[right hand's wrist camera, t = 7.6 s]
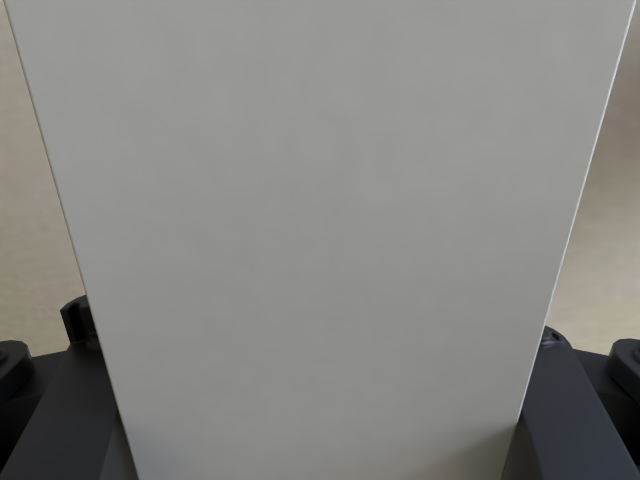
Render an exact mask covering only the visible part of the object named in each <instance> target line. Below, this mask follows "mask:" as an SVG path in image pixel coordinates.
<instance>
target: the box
mask: <svg viewBox="0 0 640 480" xmlns="http://www.w3.org/2000/svg"><path fill="white" fill-rule="evenodd" d="M3 1H4V4H5V8H6V11H7V15H8V19H9V22H10V26H11V29H12V33H13V36H14V40H15V44H16V47H17V51H18V54H19V58H20V61H21V65H22V68H23V72H24V76H25V79H26V83H27V86H28V90H29V93H30V97H31V100H32V104H33V108H34V111H35V115H36V118H37V122H38V125H39V129H40V132H41V136H42V140H43V143H44V147H45V150H46V154H47V157H48V161H49V164H50V168H51V172H52V175H53V179H54V182H55V186H56V189H57V193H58V196H59V200H60V204H61V207H62V211H63V214H64V218H65V221H66V225H67V228H68V232H69V236H70V239H71V243H72V246H73V250H74V253H75V257H76V260H77V264H78V268H79V271H80V275H81V278H82V282H83V285H84V289H85V292H86V296H87V300H88V303H89V307H90V310H91V314H92V317H93V321H94V324H95V328H96V332H97V335H98V339H99V342H100V346H101V349H102V353H103V356H104V360H105V364H106V367H107V371H108V374H109V378H110V381H111V385H112V388H113V392H114V396H115V399H116V403H117V406H118V410H119V413H120V417H121V420H122V424H123V428H124V431H125V435H126V438H127V442H128V445H129V449H130V453H131V456H132V460H133V463H134V467H135V470H136V474H137V477H138V480H501V479H502V476H503V472H504V469H505V465H506V461H507V458H508V454H509V451H510V447H511V444H512V440H513V437H514V433H515V430H516V426H517V422H518V419H519V415H520V412H521V408H522V405H523V401H524V398H525V394H526V390H527V387H528V383H529V380H530V376H531V373H532V369H533V366H534V362H535V359H536V355H537V351H538V348H539V344H540V341H541V337H542V334H543V330H544V327H545V323H546V320H547V316H548V312H549V309H550V305H551V302H552V298H553V295H554V291H555V288H556V284H557V281H558V277H559V273H560V270H561V266H562V263H563V259H564V256H565V252H566V249H567V245H568V242H569V238H570V234H571V231H572V227H573V224H574V220H575V217H576V213H577V210H578V206H579V202H580V199H581V195H582V192H583V188H584V185H585V181H586V178H587V174H588V171H589V167H590V163H591V160H592V156H593V153H594V149H595V146H596V142H597V139H598V135H599V132H600V128H601V124H602V121H603V117H604V114H605V110H606V107H607V103H608V100H609V96H610V93H611V89H612V85H613V82H614V78H615V75H616V71H617V68H618V64H619V61H620V57H621V53H622V50H623V46H624V43H625V39H626V36H627V32H628V29H629V25H630V22H631V18H632V14H633V11H634V7H635V4H636V0H3Z"/></svg>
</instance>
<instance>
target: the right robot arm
mask: <svg viewBox="0 0 640 480" xmlns="http://www.w3.org/2000/svg"><path fill="white" fill-rule="evenodd" d="M60 312H61V315H62V319H63V322H64V325H65V328H66V331H67V334H68V337H69V341H70V345H69V347H68V349H67V350H66V351H62V352H57V353H52V354H47V355H42V356H37V357H31V354H30V352H29V349H28V346H27V345H26V344H25V343H23V342H22V341H14V340H9V341H1V342H0V480H138V477H137V474H136V470H135V467H134V463H133V460H132V456H131V453H130V449H129V445H128V442H127V438H126V435H125V431H124V428H123V424H122V420H121V417H120V413H119V410H118V406H117V403H116V399H115V396H114V392H113V388H112V385H111V381H110V378H109V374H108V371H107V367H106V364H105V360H104V356H103V353H102V349H101V346H100V342H99V339H98V335H97V332H96V328H95V324H94V321H93V317H92V314H91V310H90V307H89V303H88V300H87V296H86V295H83V296H81V297H78V298H76V299H74V300H73V301H71V302H69V303H67V304H66V305H65V306H64V307H63V308H62V309H61V310H60ZM501 480H640V340H637V339H630V338H629V339H619V340H618V341H616V342H615V343H613V346H612V348H611V351H610V354H609V356H607V355H602V354H597V353H591V352H586V351H581V350H576V349H572V347H571V345H570V343H569V342H568V341H567V340H566V338H565V337H564V336H563V335H561V334H560V333H558V332H557V331H555V330H554V329H552V328H550V327H547V326H545V327H544V330H543V334H542V337H541V341H540V344H539V348H538V351H537V355H536V359H535V362H534V366H533V369H532V373H531V376H530V380H529V383H528V387H527V390H526V394H525V398H524V401H523V405H522V408H521V412H520V415H519V419H518V422H517V426H516V430H515V433H514V437H513V440H512V444H511V447H510V451H509V454H508V458H507V461H506V465H505V469H504V472H503V476H502V479H501Z"/></svg>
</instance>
